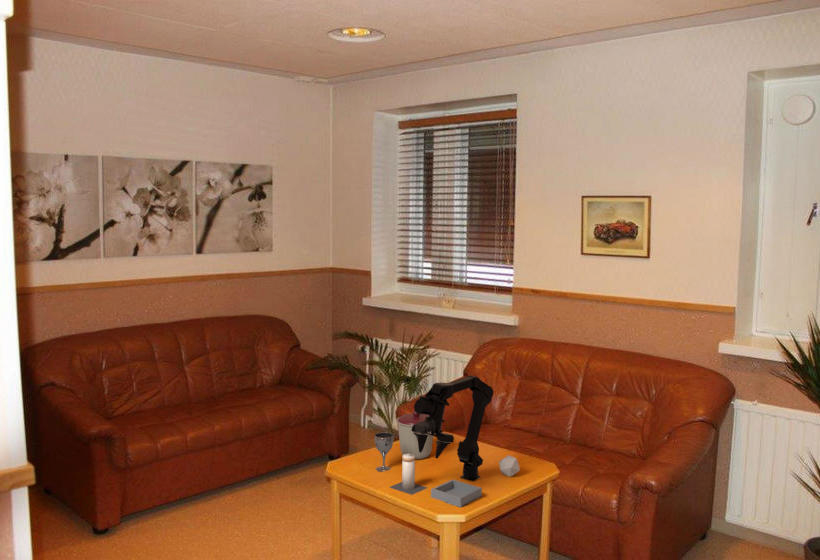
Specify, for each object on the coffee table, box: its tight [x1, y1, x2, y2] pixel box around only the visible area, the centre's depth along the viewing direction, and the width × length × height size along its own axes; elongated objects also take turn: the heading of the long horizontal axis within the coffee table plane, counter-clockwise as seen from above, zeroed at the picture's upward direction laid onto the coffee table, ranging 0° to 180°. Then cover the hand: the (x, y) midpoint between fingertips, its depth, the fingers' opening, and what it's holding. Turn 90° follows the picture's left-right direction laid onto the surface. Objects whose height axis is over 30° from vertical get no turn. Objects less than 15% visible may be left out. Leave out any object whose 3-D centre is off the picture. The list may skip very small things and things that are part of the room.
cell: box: [401, 453, 416, 490], centre depth 292 cm, size 5×5×14 cm
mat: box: [388, 481, 428, 496], centre depth 292 cm, size 10×12×1 cm
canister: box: [395, 409, 434, 460], centre depth 331 cm, size 18×18×21 cm
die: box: [498, 454, 521, 477], centre depth 309 cm, size 8×9×10 cm
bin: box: [430, 479, 483, 508], centre depth 283 cm, size 14×14×4 cm
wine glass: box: [374, 431, 394, 473], centre depth 313 cm, size 8×8×15 cm
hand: (428, 455), depth 287 cm, fingers open, 9 cm apart
